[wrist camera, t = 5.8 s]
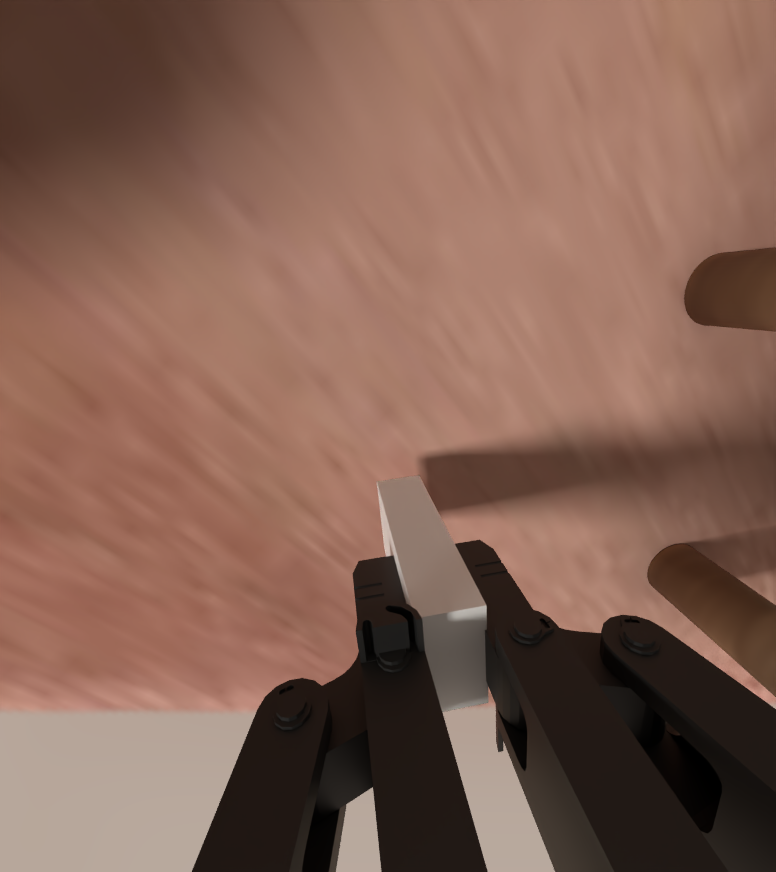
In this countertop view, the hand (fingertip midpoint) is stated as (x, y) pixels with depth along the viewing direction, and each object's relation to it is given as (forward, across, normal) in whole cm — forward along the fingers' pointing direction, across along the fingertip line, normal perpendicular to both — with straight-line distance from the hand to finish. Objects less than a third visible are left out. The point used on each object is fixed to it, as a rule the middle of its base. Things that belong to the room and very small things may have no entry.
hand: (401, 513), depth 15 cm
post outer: (+2, +13, -6) cm, 15 cm away
